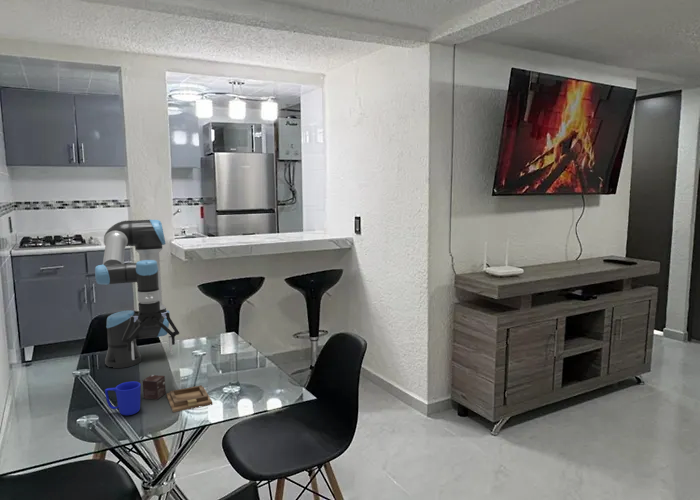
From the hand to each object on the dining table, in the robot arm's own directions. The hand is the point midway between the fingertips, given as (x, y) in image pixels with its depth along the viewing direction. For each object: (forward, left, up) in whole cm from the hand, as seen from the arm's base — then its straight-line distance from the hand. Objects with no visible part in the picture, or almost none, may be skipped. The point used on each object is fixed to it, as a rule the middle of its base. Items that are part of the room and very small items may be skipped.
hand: (152, 356), depth 196 cm
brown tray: (+10, +11, -16) cm, 22 cm away
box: (0, 0, -16) cm, 16 cm away
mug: (+10, -11, -16) cm, 22 cm away
